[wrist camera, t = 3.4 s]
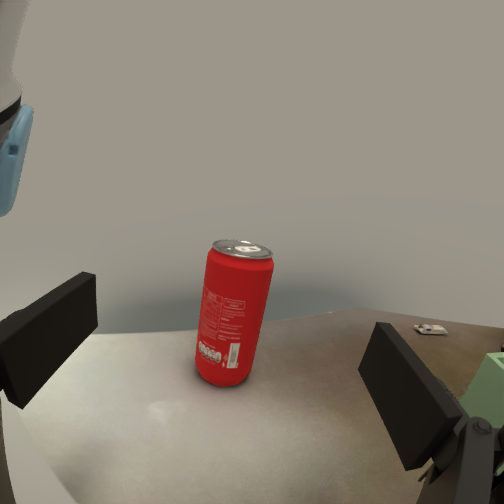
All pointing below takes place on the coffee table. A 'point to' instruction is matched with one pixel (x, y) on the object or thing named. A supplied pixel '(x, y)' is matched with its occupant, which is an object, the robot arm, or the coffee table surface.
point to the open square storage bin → (487, 392)
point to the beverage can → (232, 310)
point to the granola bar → (431, 329)
